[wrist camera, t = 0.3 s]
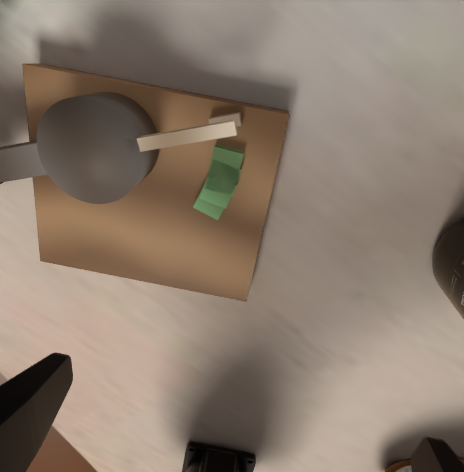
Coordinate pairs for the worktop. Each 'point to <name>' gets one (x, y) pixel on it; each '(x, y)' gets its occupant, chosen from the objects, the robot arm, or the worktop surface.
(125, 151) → the upright block on board
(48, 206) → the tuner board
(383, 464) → the worktop surface
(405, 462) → the tin
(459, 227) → the supplement bottle
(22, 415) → the robot arm
